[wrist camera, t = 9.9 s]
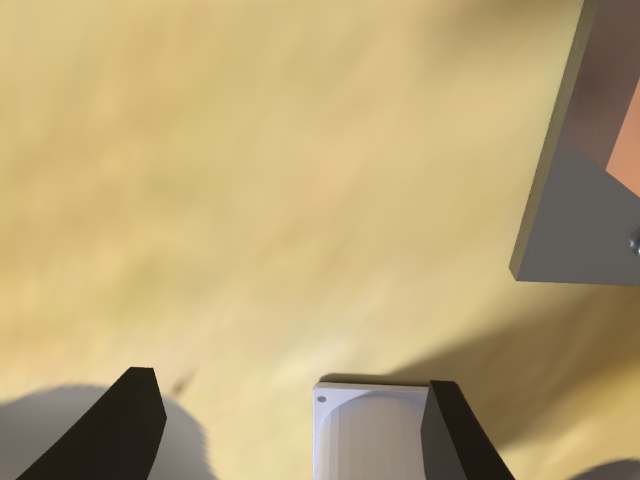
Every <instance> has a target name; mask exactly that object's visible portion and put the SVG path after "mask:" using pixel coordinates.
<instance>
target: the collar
mask: <svg viewBox="0 0 640 480" xmlns="http://www.w3.org/2000/svg"><path fill="white" fill-rule="evenodd" d="M606 171H607V172H608V173H609V174H611V175H612V176H613V177H614V178H616V179H617V180H618V181H620V182H621V183H622V184H623V185H625V186H626V187H627V188H628V189H630V190H631V191H632V192H634V193H635V194H636V195H637V196H639V197H640V79H639V81H638V84H637V87H636V89H635V92H634V95H633V98H632V100H631V103H630V106H629V108H628V111H627V114H626V116H625V119H624V122H623V125H622V127H621V130H620V133H619V135H618V138H617V141H616V143H615V146H614V149H613V151H612V154H611V157H610V160H609V162H608V165H607V168H606Z"/></svg>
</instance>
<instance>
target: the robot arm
mask: <svg viewBox="0 0 640 480" xmlns="http://www.w3.org/2000/svg"><path fill="white" fill-rule="evenodd" d="M321 396H323V397H321ZM166 420H167V417H166V413H165V409H164V406H163V402H162V398H161V395H160V391H159V387H158V384H157V380H156V376H155V373H154V369H153V368H144V367H130V368H129V369H128V370H127V371H126V372H125V373H124V374H123V375H122V376H121V377H120V378H119V379H118V380H117V381H116V382H115V383H114V384H113V385H112V386H111V387H110V388H109V389H108V390H107V391H106V392H105V393H104V395H102V397H101V398H100V399H99V400H98V401H97V402H96V403H95V404H94V405H93V406H92V407H91V408H90V409H89V410H88V411H87V412H86V413H85V414H84V415H83V416H82V417H81V418H80V419H79V420H78V421H77V422H76V423H75V424H74V425H73V426H72V427H71V428H70V429H69V430H68V431H67V432H66V433H65V434H64V435H63V436H62V437H61V438H60V439H59V440H58V441H57V442H56V443H55V444H54V445H53V446H52V447H50V448H49V449H48V450H47V451H46V452H45V453H44V454H43V455H42V456H41V457H40V458H39V459H38V460H37V461H35V462H34V463H33V464H32V465H31V466H30V467H29V468H28V469H27V470H26V471H24V472H23V473H22V474H21V475H20V476H19V477H18V478H17V479H16V480H147V478H148V475H149V473H150V470H151V468H152V465H153V463H154V460H155V458H156V454H157V451H158V448H159V444H160V441H161V438H162V434H163V430H164V427H165V423H166ZM313 480H515V478H514V477H513V475H512V474H511V472H510V471H509V469H508V468H507V466H506V465H505V463H504V462H503V460H502V459H501V457H500V456H499V454H498V453H497V451H496V449H495V448H494V446H493V445H492V443H491V442H490V440H489V438H488V437H487V435H486V434H485V432H484V430H483V429H482V427H481V425H480V424H479V422H478V420H477V419H476V417H475V415H474V413H473V412H472V410H471V408H470V406H469V405H468V403H467V401H466V399H465V397H464V395H463V394H462V392H461V390H460V388H459V386H458V385H457V384H456V383H455V382H454V381H432V380H430V384H429V387H415V386H393V385H371V384H349V383H327V382H320V383H317V384H315V385H314V387H313Z"/></svg>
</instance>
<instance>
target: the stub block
mask: <svg viewBox="0 0 640 480" xmlns="http://www.w3.org/2000/svg"><path fill="white" fill-rule="evenodd" d="M639 79H640V0H584V4H583V8H582V11H581V15H580V18H579V22H578V25H577V29H576V32H575V36H574V39H573V43H572V46H571V50H570V53H569V57H568V61H567V64H566V68H565V71H564V75H563V78H562V82H561V85H560V89H559V92H558V96H557V99H556V103H555V106H554V110H553V113H552V117H551V121H550V124H549V128H548V131H547V135H546V138H545V142H544V145H543V149H542V152H541V156H540V159H539V163H538V166H537V170H536V174H535V177H534V181H533V184H532V188H531V191H530V195H529V198H528V202H527V205H526V209H525V212H524V216H523V219H522V223H521V227H520V230H519V234H518V237H517V241H516V244H515V248H514V251H513V255H512V258H511V262H510V265H509V269H510V271H511V273H512V275H513V277H514V279H515V280H516V281H528V282H555V283H583V284H611V285H638V286H640V197H639V196H637V195H636V194H635V193H634V192H632V191H631V190H630V189H628V188H627V187H626V186H625V185H623V184H622V183H621V182H620V181H618V180H617V179H616V178H614V177H613V176H612V175H611V174H609V173H608V172H607V171H606V168H607V165H608V162H609V160H610V157H611V154H612V151H613V149H614V146H615V143H616V141H617V138H618V135H619V133H620V130H621V127H622V125H623V122H624V119H625V116H626V114H627V111H628V108H629V106H630V103H631V100H632V98H633V95H634V92H635V89H636V87H637V84H638V81H639Z"/></svg>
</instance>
